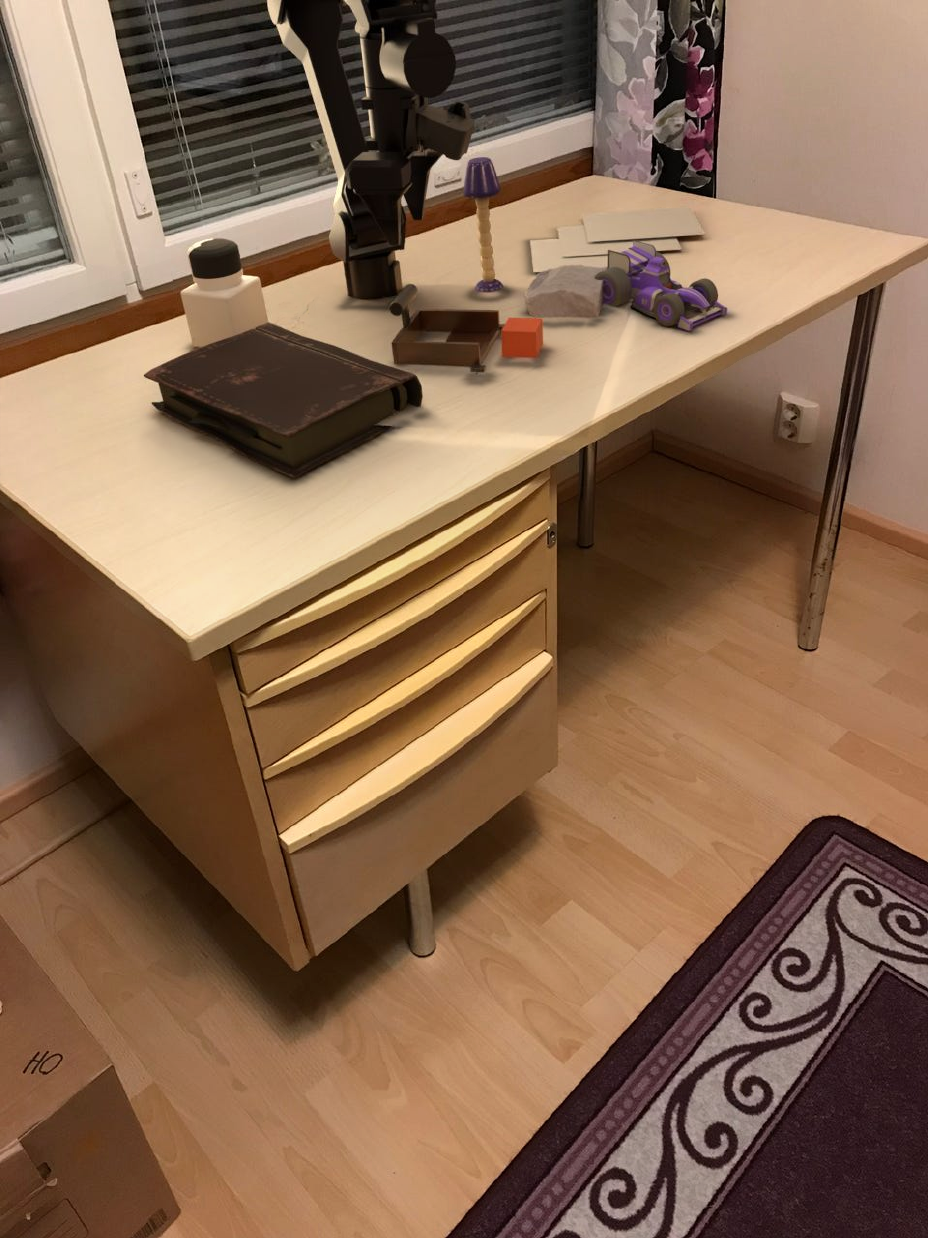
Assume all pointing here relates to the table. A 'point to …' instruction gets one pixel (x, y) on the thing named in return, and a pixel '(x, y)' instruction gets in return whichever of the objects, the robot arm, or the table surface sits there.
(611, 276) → the toy race car
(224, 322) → the medicine bottle
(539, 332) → the cube
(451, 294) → the table surface
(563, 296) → the stone block
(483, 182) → the toy lamp
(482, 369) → the hinge brackets
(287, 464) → the diary
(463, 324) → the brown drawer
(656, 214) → the paper stack
